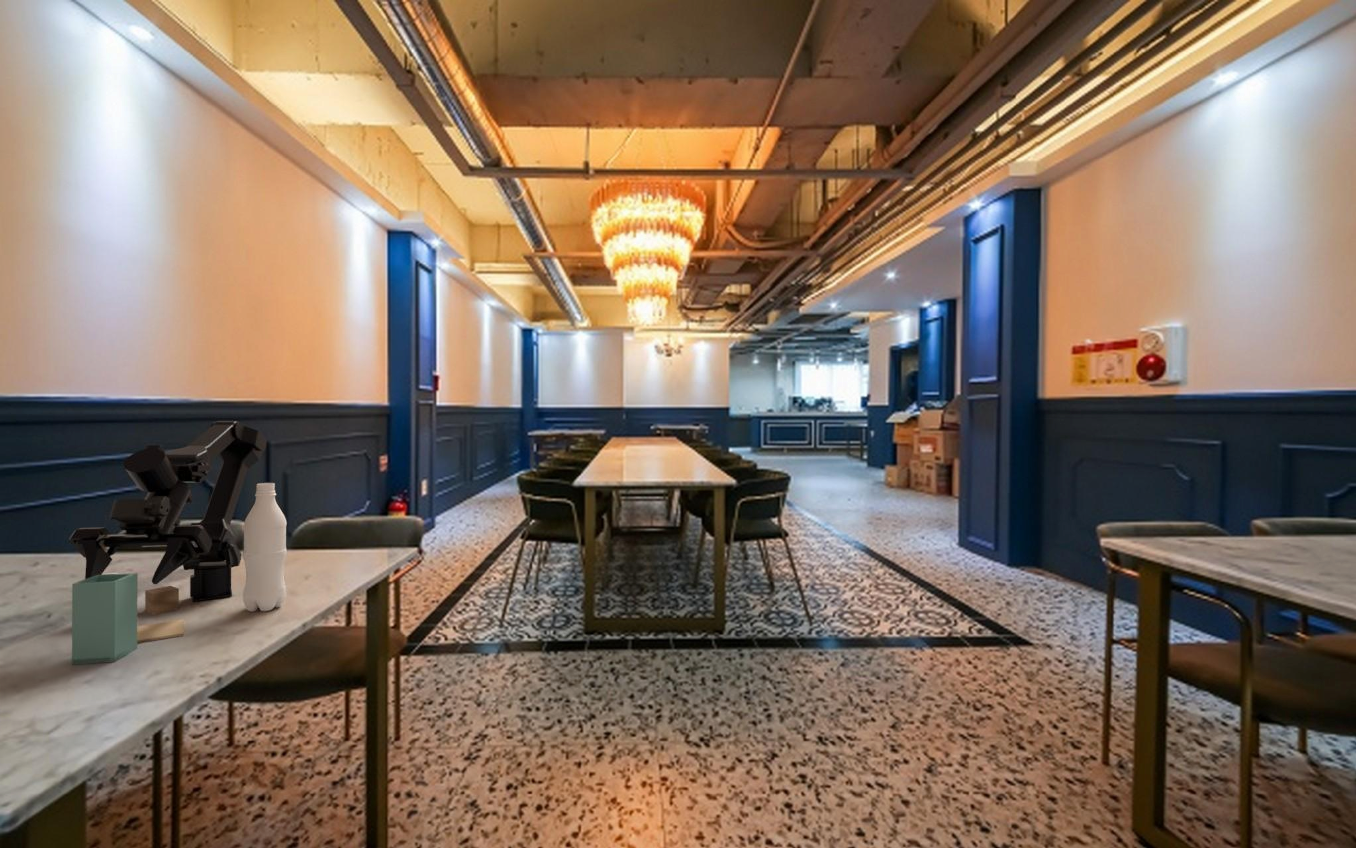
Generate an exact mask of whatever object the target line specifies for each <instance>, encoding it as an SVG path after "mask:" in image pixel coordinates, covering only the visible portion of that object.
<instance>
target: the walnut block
mask: <svg viewBox="0 0 1356 848" xmlns="http://www.w3.org/2000/svg"><path fill="white" fill-rule="evenodd" d="M179 591H180V590H179V588H178V587H175V586H172V585H167V586H162V587H156V588H151V589H145V591H144V593H145V594H144V598H145V599H144V603H145V604H144V605H145V606H144V610H145V611H146V612H148V613H150V614H152V615H154V614H155V615H156V614H159V613H164V612H169V611H173V610H178V609H180V608H179V607H180V606H179V605H180V604H179V603H180V600H179V599H180V593H179Z"/></svg>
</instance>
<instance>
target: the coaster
mask: <svg viewBox="0 0 1356 848" xmlns="http://www.w3.org/2000/svg"><path fill="white" fill-rule="evenodd" d="M184 627H185V619H184V618H183V619H177V620H170V621H165V622H158V623H152V624H145V625H137V644H138V643H139V644H140V643H145V642H152V641H157V640H164V639H169V638H176V637H181V636H182V637H183V636H184V631H185V630H184V629H185V628H184Z"/></svg>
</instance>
